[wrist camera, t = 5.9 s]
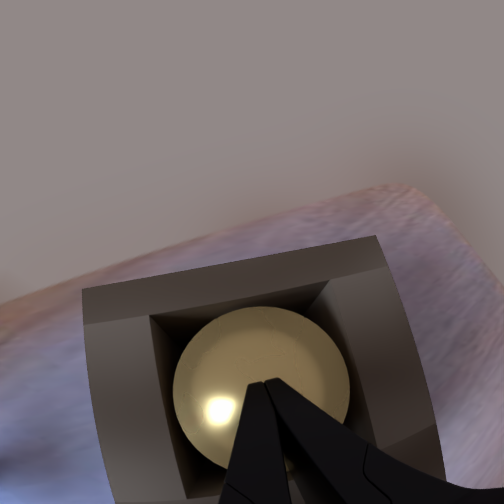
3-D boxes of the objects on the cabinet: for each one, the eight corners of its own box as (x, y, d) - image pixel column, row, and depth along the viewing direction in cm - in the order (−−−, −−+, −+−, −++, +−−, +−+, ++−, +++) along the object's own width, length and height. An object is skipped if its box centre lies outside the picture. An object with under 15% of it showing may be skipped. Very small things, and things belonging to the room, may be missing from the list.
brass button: (317, 430, 13) (366, 445, 8) (210, 454, 12) (194, 489, 7) (291, 332, 15) (324, 290, 10) (188, 353, 14) (159, 323, 9)
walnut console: (367, 482, 13) (450, 519, 6) (187, 526, 12) (155, 600, 5) (320, 304, 18) (375, 235, 11) (144, 338, 16) (81, 288, 9)
